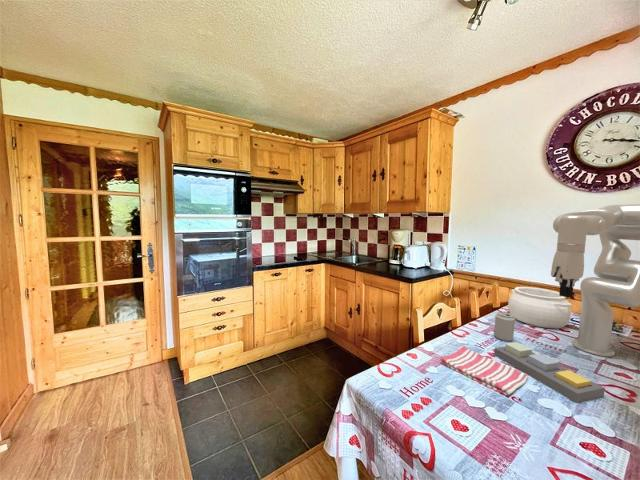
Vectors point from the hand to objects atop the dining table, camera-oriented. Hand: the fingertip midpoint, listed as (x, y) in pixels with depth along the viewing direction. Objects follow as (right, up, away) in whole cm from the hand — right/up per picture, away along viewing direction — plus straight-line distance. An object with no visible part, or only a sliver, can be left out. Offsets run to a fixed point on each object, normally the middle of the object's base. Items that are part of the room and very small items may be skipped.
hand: (565, 296), depth 97 cm
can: (-7, -25, +23) cm, 35 cm away
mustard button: (-10, -27, -12) cm, 31 cm away
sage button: (-14, -24, +5) cm, 28 cm away
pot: (+28, -24, +45) cm, 58 cm away
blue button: (-12, -25, -4) cm, 28 cm away
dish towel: (-34, -28, -3) cm, 44 cm away
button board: (-12, -27, -4) cm, 30 cm away
